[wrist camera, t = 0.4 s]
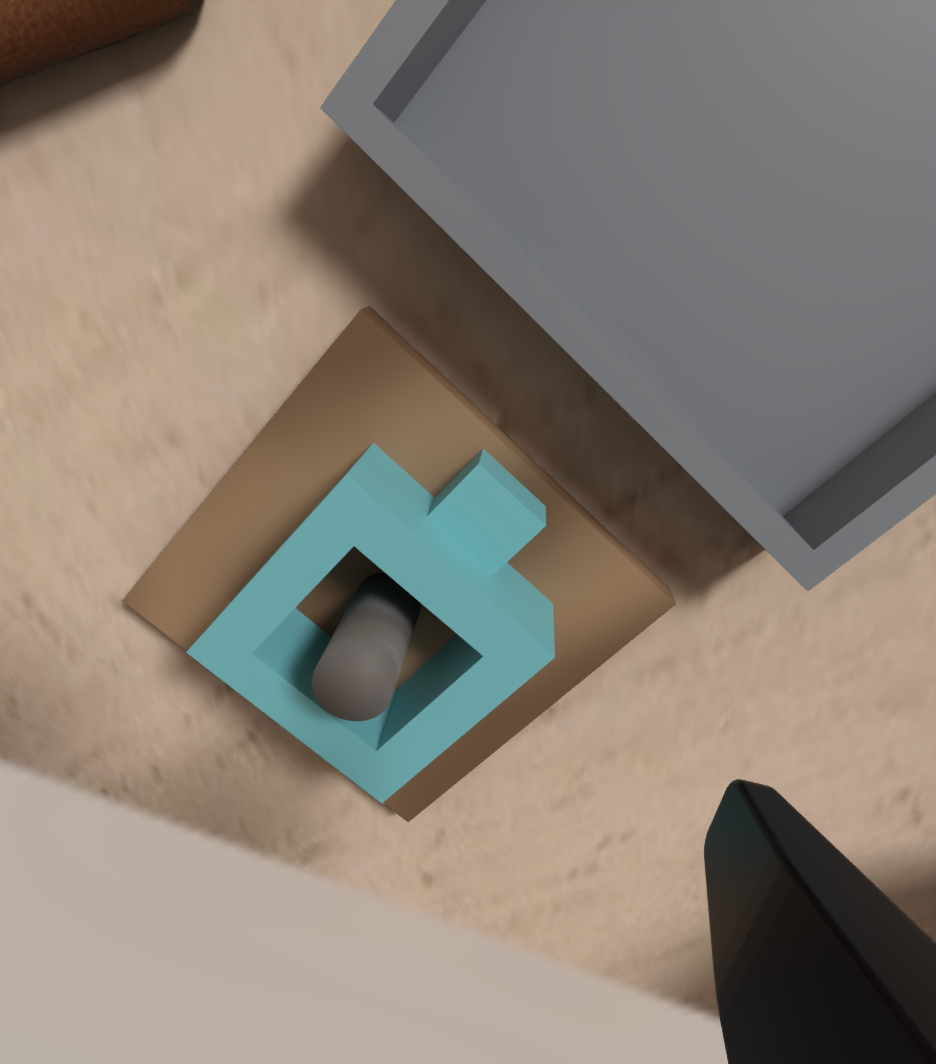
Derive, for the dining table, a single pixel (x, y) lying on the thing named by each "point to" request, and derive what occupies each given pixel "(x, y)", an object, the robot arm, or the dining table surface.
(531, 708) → the peg base
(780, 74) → the tray
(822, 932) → the robot arm
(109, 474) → the dining table surface
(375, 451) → the collar
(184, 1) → the sunglasses case
